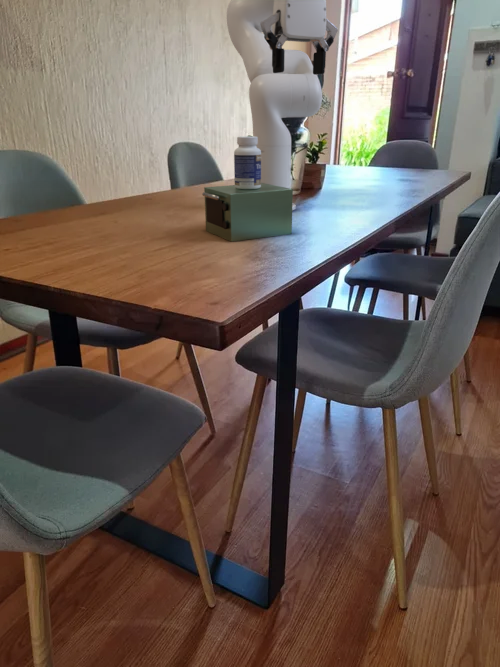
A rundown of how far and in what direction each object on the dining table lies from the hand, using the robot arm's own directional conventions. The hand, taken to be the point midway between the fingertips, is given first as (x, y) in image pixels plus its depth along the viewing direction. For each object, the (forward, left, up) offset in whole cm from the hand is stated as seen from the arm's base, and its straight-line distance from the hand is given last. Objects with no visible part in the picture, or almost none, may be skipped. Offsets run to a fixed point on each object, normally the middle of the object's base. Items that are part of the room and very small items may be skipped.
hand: (298, 73), depth 102 cm
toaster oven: (+2, -13, -30) cm, 33 cm away
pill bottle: (+2, -13, -22) cm, 25 cm away
